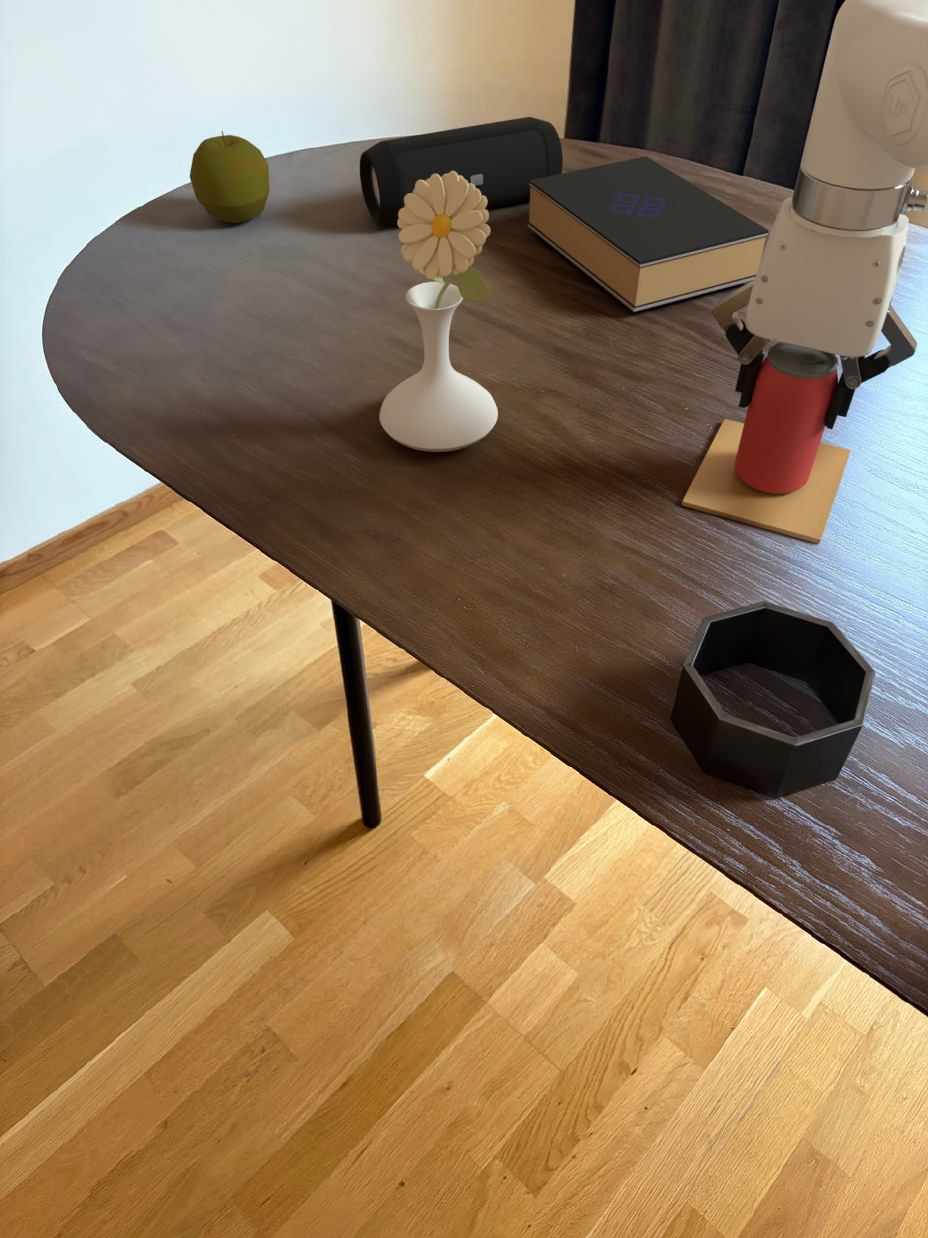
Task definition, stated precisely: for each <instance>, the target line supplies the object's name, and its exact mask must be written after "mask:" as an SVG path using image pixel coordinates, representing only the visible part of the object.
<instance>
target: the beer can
mask: <svg viewBox="0 0 928 1238" xmlns="http://www.w3.org/2000/svg"><path fill="white" fill-rule="evenodd" d="M838 366H839V359H838V356H837V354H831V353H827V352H822V351H817V350H813V349H808V348H803V347H799V346H794V345H790V344H785V343H781V342H777V343H775V344H774V345H772V346H771V347H770V348H769V350H768V352H767V355H766V357H764V359H763V362H762V364H761V366H760V368H759V370H758V372H757V375H756V379H755V383H754V387H753V391H752V395H751V399H750V403H749V405H748V407H747V411H746V415H745V417H744V422H743V423H744V426H743V431H742V435H741V439H740V443H739V447H738V451H737V455H736V459H735V471H736V473H737V475H738V477H739V478H740V480H742V481H743V482H744V483H745V484H746V485H747V486H749V487H751V488H753V489H755V490H757V491H761V492H764V493H770V494H786V493H790V492H793V491H796V490H798V489H800V488H801V487H802V486H804V485H805V484H806V483H807V481H808V479H809V476H810V473H811V470H812V467H813V464H814V461H815V458H816V454H817V451H818V448H819V445H820V442H821V443H822V438H823V437H824V436H823V435H824V432H825V429H826V426H824V425H825V422H826V419H827V416H828V412H829V409H830V406H831V403H832V400H833V397H834V393H835V390H836V387H837V385H838V382H839V375H838V369H837V368H838Z"/></svg>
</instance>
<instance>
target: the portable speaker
mask: <svg viewBox="0 0 928 1238" xmlns="http://www.w3.org/2000/svg"><path fill="white" fill-rule="evenodd" d="M563 158H564V157H563V148H562V142H561V138H560V136H559V133H558V131H557V129H556V128H555V126H554V125H553V124H552V123H551V122H549V121H547V120H543V119H540V118H537V117H532V116H525V117H520V118H519V117H518V118H513V119H507V120H500V121H494V122H489V123H482V124H476V125H475V124H474V125H470V126H463V127H456V128H452V129H446V130H439V131H433V132H427V133H421V134H415V135H408V136H402V137H398V138H392V139H386V140H381V141H379V142H376V143H375V144H374V145H372V146H370V147H369V148H367V149H365V150H364V151H362V153H361V154H360V158H359V181H360V187H361V192H362V197H363V201H364V203H365V207H366V209H367V211H368V214H369V215H370V217H371V218H372V220H374V221H375V222H378V223H383V224H389V225H393V226H398V224H397V221H398V219H399V216H398V213H399V211H400V209H401V208H404V207H405V203H404V198H405V196H406V195H407V194H408V193H412V194H413V190H414V189H415V184H416V182H417V181H418V180H424V181H426V180H427V179H428V178H430V177H431V176H432V175H433V174H438V175H439V176H440V177H442V176H443V175H444V174H449V172H451V171H455V172H456V173H457V174H458V176H459V175H461V176H463V177H464V179H465V180H467V182H468V184H469V183H473V184H474V185H475V187H476V189H479V190H480V192H481V196H485V197H486V198H487V206H486V208H485V210H488V209H493V208H498V207H499V208H500V207H503V206H508V205H514V204H520V203H525V202H528V201H529V202H530V190H531V187H530V186H529V182H530V181H529V180H534V179H539V178H543V177H548V176H553V175H558V174H563V167H564V166H563V165H564V159H563Z"/></svg>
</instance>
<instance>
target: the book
mask: <svg viewBox="0 0 928 1238" xmlns="http://www.w3.org/2000/svg"><path fill="white" fill-rule="evenodd" d="M529 181H530V182H529V186H530V187H531V190H530V200H529V216H528V217H529V218H528V222H527V226H526V227H527V228H528V229H530V231H532V232H533V233H534V234H536V235H537V236H538V237H540V239H542V240H543V241H544V242H545V243H546V244H548V245H549V246H551V247H552V248H553V249H554V250H556V251H557V252H558V253H559V254H561V255H562V256H563V257H564V258H565V259H567V260H568V261H569V262H570V263H572V264H573V265H574V266H576V268H578V269H579V270H580V271H582V273H584V274H585V275H586V276H588V277H589V278H590V279H591V280H593V281H594V282H595V283H597V284H598V285H599V286H600V287H601V288H603V289H604V290H605V291H607V293H609V294H610V295H612V296H613V297H614V298H615V299H616V300H618V302H620V303H621V304H623V305H624V306H625V307H626V308H628V309H629V310H630V311H631V312H633V313H637V312H642V311H645V310H648V309H653V308H657V307H661V306H664V305H667V304H672V303H675V302H678V301H682V300H687V299H691V298H694V297H697V296H701V295H705V294H709V293H713V292H716V291H721V290H724V289H728V288H733V287H735V286H740V285H744V284H748V283H750V282H751V281H753V280H755V278H756V275H757V272H758V268H759V265H760V262H761V258H762V255H763V252H764V249H765V245H766V239H767V237H769V234H770V230H769V229H767V228H766V227H764V226H763V225H761V224H759V223H757V222H756V221H754V220H753V219H751V218H749V217H748V216H746V215H745V214H743V213H742V212H740V211H738V210H736V209H734V208H733V207H731V206H729V205H728V204H726V203H725V202H723V201H721V200H719V199H718V198H716V197H714V196H713V195H711V194H709V192H706V191H705V190H703V189H701V188H700V187H698V186H696V185H694V184H693V183H691V182H690V181H688V180H687V179H685V178H683V177H682V176H680V175H678V174H676V173H675V172H673V171H671V170H670V169H668V168H666V167H665V166H663V165H661V164H660V163H658V162H656V161H654V160H653V159H652V158H650V157H648V156H646V155H645V156H644V155H643V156H640V157H636V158H635V157H634V158H631V159H625V160H620V161H615V162H611V163H607V164H601V165H597V166H591V167H587V168H582V169H578V170H573V171H568V172H562V174H558V175H553V176H548V177H543V178H539V179H534V180H529Z"/></svg>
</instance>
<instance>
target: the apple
mask: <svg viewBox="0 0 928 1238" xmlns="http://www.w3.org/2000/svg"><path fill="white" fill-rule="evenodd" d="M269 166H270V165H269V163H268V161H267V160H266V158H265V156H264V154H263V153H262V151H261V149H260V148H258V147H257V146H256V145H254V144H253V143H251V142H250V141H249V140H247V139H246V138H243V137H241V136H238V135H233V134H227V135H226V134H224V131H223V130H221V135H217V136H212V137H209V138H206V139H204V140H203V141H201V142H200V144H199V146H198V147H197V148H196V150H195V151H194V153H193V155H192V160H191V166H190V171H189V180H190V183H191V186H192V190H193V193H194V196H195V199H196V200H197V201H198V203H200V205H201V206H202V207H203V208H204V210H205V211H206V212H207V214H208V215H209V216H211V217H212V218H215V219H218V220H220V221H223V222H226V223H231V224H243V223H246V222H249V221H251V220H253V219H254V218H257V217H259V216H260V215H261V214H262V213H263V212H264V210H265V207H266V204H267V201H268V198H269V194H270V191H271V190H270V167H269Z"/></svg>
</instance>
